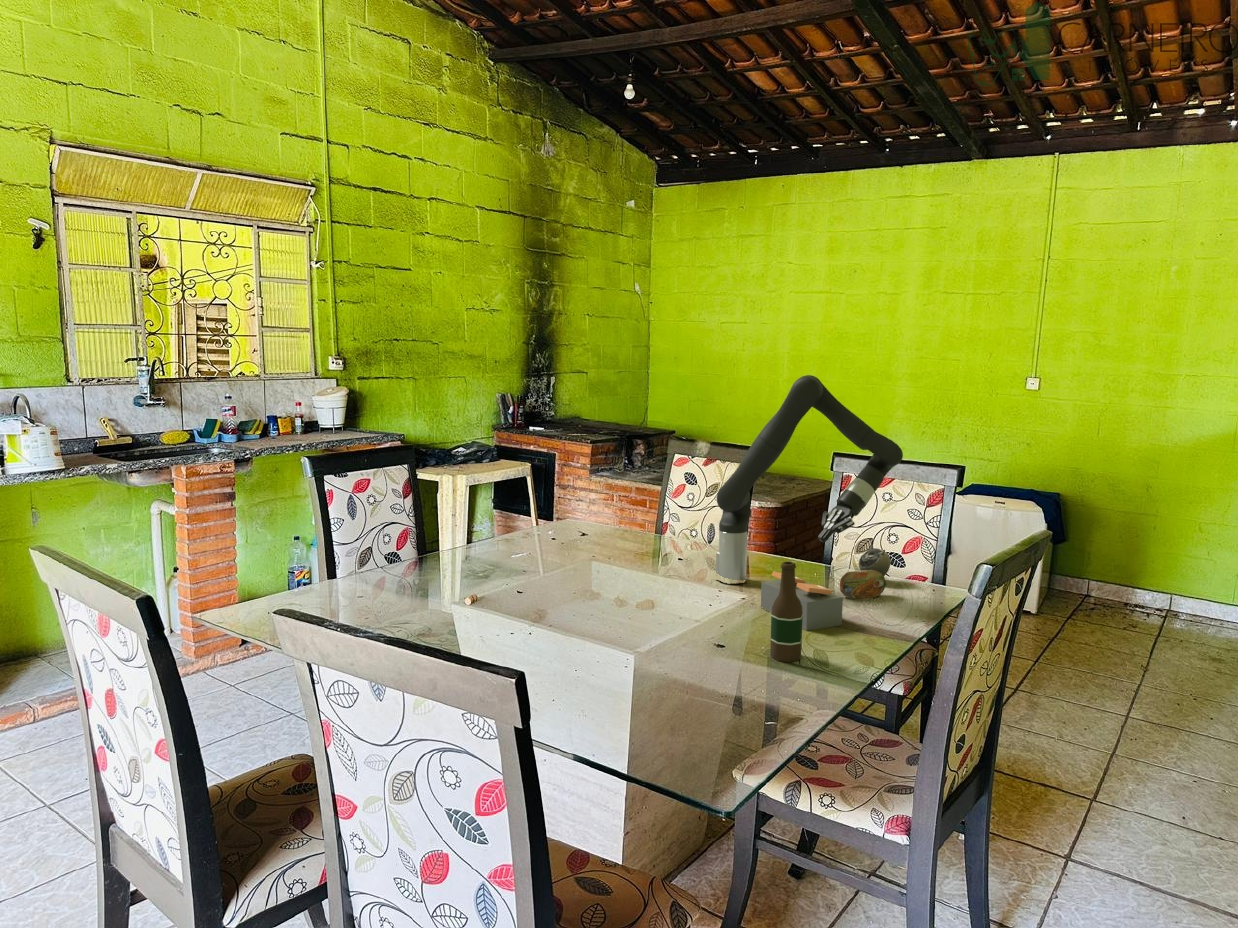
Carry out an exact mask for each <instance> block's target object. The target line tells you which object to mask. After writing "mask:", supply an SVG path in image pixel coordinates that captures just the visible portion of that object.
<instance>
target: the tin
mask: <svg viewBox="0 0 1238 928" xmlns="http://www.w3.org/2000/svg"><path fill="white" fill-rule="evenodd" d="M886 582H887V581H886V578H885V576H883V574H882V573H881V572H879V571H875V570H864V571H860V570H856V571H848V572H846V573H845V574H843V575H842V576H841V577H840V580H839V590H840V592H841V594H842V596H845V598H848V599H850V600H859V599H870V598H876V597H879V596H881V594H883V592H884V590H885V587H886V585H887V583H886Z"/></svg>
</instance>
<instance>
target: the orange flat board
mask: <svg viewBox="0 0 1238 928" xmlns="http://www.w3.org/2000/svg"><path fill="white" fill-rule="evenodd" d="M796 587H798V588H800V589H802V590H805V591H807V592H812V593H821V594H830V595H831V594H832V593H833V590H832V589H830V588H828V587H825V586H822V585H819V584H812V583H810V584H804V583H797V586H796Z"/></svg>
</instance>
